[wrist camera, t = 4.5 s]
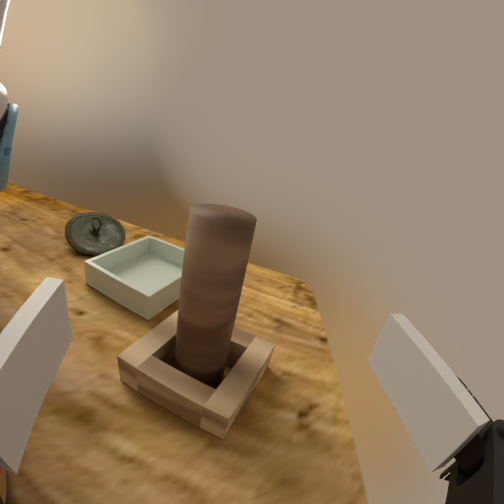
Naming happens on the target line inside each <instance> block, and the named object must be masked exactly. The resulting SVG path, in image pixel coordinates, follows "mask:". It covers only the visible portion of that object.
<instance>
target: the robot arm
mask: <svg viewBox="0 0 504 504" xmlns="http://www.w3.org/2000/svg"><path fill="white" fill-rule="evenodd" d="M9 1H10V0H0V46H1V40H2V33H3V28H4V23H5V18H6V14H7V9H8V5H9ZM7 101H8V100H7V92H6V89H5V88H4V86H3V85H2V84H1V83H0V193H1V192H2V191H3V190H4V189H5V188H6V186H7V182H8V174H9V164H10V156H11V149H12V142H13V136H14V131H15V125H16V120H17V114H18V110H19V108H18V105H16V104H12V103H7ZM72 339H73V337H72V332H71V326H70V321H69V315H68V308H67V301H66V294H65V286H64V280H61V279H56V278H51V277H47V278H46V279H45V280H44V281H43V282H42V283H41V284H40V285H39V287H38V288H37V289H36V290H35V291H34V292H33V294H32V295H31V296H30V297H29V298H28V299H27V301H26V302H25V303H24V304H23V305H22V307H21V308H20V309H19V310H18V312H17V313H16V314H15V315H14V317H13V318H12V319H11V320H10V322H9V323H8V324H7V326H6V327H5V328H4V330H3V331H2V332H1V334H0V467H2V468H4V469H6V470H8V471H11V472H13V473H15V474H17V473H18V469H19V466H20V463H21V460H22V457H23V454H24V451H25V448H26V445H27V442H28V439H29V436H30V433H31V431H32V428H33V425H34V423H35V420H36V418H37V415H38V413H39V410H40V408H41V405H42V403H43V400H44V398H45V396H46V393H47V391H48V389H49V387H50V384H51V382H52V380H53V378H54V376H55V373H56V371H57V369H58V367H59V365H60V363H61V361H62V359H63V357H64V355H65V353H66V351H67V349H68V347H69V345H70V343H71V341H72ZM367 362H368V364H369V366H370V367H371V369H372V371H373V372H374V374H375V375H376V377H377V379H378V381H379V382H380V384H381V386H382V387H383V389H384V391H385V392H386V394H387V396H388V397H389V399H390V401H391V402H392V404H393V406H394V407H395V409H396V411H397V413H398V414H399V416H400V418H401V420H402V421H403V423H404V425H405V427H406V428H407V430H408V432H409V434H410V435H411V437H412V439H413V441H414V443H415V444H416V446H417V448H418V450H419V452H420V453H421V455H422V457H423V459H424V461H425V462H426V464H427V466H428V468H429V470H430V472H433V471H435V470H437V469H439V468H441V467H443V466H445V465H446V464H447V463H448V462H449V461H450V460H451V459H453V458H455V459H456V461H455V462H454V463H453V464H452V465H451V466H449V467H448V468H447V469H446V470H445V471H444V472H443V473H442V474H441V475H440V479H442V478H443V477H444V476H446V475H447V474H448V473H449V472H451V473H450V474H449V475H448V476H447V477H446V478H445V480H447V481H449V486H448V492H447V498H446V503H445V504H504V420H499V419H498V420H496V421H495V422H493V421H492V419H491V418H490V417H489V416H488V414H487V413H486V412H485V410H484V409H483V408H482V406H481V405H480V404H479V402H478V401H477V400H476V398H475V397H474V396H472V393H471V392H470V391H469V390H467V387H466V386H465V384H464V383H463V382H462V381H461V379H459V378H458V377H457V376H456V375H455V374H454V373H453V372H452V371H451V369H450V368H449V367H448V366H447V365H446V363H445V362H444V361H443V360H442V358H441V357H440V356H439V355H438V354H437V353H436V351H435V350H434V349H433V348H432V347H431V346H430V344H429V343H428V342H427V341H426V340H425V339H424V338H423V336H422V335H421V334H420V333H419V332H418V331H417V329H416V328H415V327H414V326H413V325H412V324H411V323H410V321H408V319H407V318H406V317H405V316H404V315H403V314H390V315H389V318H388V320H387V322H386V324H385V326H384V328H383V330H382V332H381V335H380V337H379V338H378V341H377V343H376V345H375V347H374V348H373V350H372V352H371V355H370V356H369V358H368V360H367ZM0 504H4V502H3V500H2V498H1V495H0Z"/></svg>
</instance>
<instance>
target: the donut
mask: <svg viewBox="0 0 504 504" xmlns="http://www.w3.org/2000/svg"><path fill="white" fill-rule="evenodd" d="M6 494H7V483H6V470H5V469H4V468H2V467H0V495H1V498H2V500H3V502H4V504H5V500H6Z"/></svg>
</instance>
